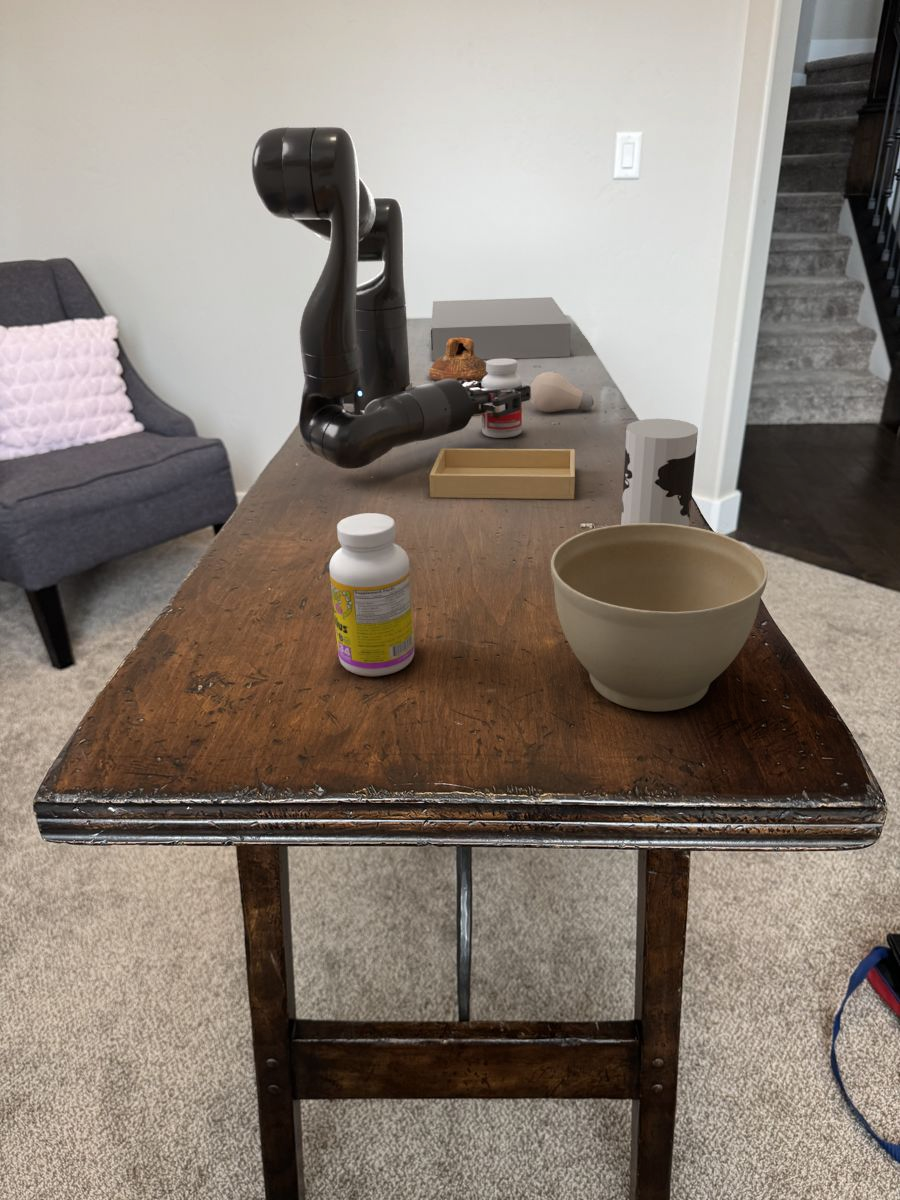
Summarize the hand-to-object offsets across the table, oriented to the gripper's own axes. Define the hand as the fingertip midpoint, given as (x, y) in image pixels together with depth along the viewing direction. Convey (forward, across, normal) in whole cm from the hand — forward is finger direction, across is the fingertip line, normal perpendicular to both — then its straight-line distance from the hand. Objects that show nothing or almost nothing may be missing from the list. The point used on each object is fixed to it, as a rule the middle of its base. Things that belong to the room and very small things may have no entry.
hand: (512, 388), depth 136 cm
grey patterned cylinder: (-28, -46, +7) cm, 54 cm away
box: (+48, +51, +7) cm, 71 cm away
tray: (-19, -16, +6) cm, 26 cm away
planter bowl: (-46, -59, +7) cm, 75 cm away
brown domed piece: (+20, +33, +7) cm, 39 cm away
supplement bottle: (-59, -40, +7) cm, 71 cm away
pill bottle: (-2, 0, +7) cm, 7 cm away
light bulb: (+13, +1, +7) cm, 15 cm away
